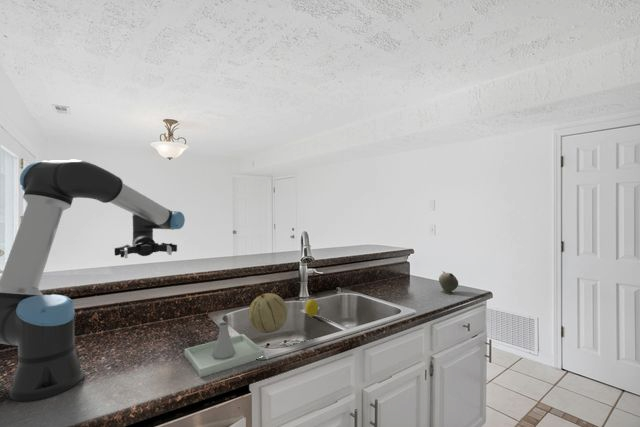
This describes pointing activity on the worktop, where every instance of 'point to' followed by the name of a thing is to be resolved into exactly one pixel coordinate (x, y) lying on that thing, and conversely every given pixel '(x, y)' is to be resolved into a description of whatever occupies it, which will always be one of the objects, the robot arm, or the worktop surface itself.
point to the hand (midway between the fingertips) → (148, 252)
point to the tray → (208, 364)
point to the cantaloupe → (268, 313)
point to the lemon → (311, 307)
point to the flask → (223, 343)
